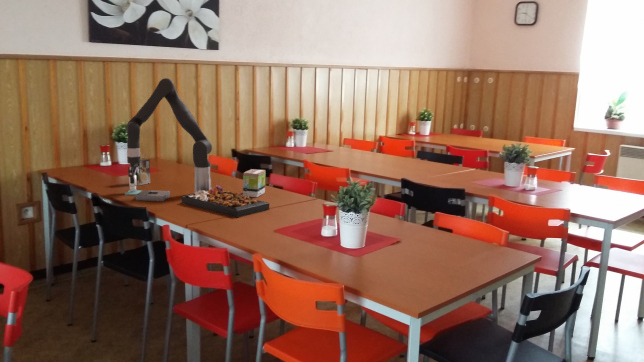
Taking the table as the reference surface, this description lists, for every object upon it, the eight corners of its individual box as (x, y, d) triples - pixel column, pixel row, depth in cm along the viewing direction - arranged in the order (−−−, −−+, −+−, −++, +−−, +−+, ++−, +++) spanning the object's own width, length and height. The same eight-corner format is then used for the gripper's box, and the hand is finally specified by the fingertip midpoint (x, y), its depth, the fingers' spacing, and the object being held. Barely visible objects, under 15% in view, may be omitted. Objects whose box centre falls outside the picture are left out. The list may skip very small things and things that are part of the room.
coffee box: (144, 182, 379) (144, 158, 376) (150, 183, 376) (150, 159, 373) (132, 184, 372) (132, 159, 369) (138, 185, 368) (138, 160, 365)
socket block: (170, 195, 343) (169, 190, 342) (163, 201, 329) (163, 196, 328) (143, 194, 343) (143, 190, 342) (135, 200, 329) (135, 195, 328)
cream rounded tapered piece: (131, 190, 348) (131, 174, 346) (138, 191, 347) (137, 175, 345) (128, 192, 344) (127, 175, 342) (134, 192, 343) (134, 176, 341)
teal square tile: (144, 192, 350) (144, 190, 350) (140, 195, 341) (139, 193, 341) (129, 191, 350) (129, 190, 350) (124, 194, 341) (124, 193, 341)
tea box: (258, 197, 346) (258, 173, 343) (242, 196, 348) (242, 172, 345) (265, 192, 361) (265, 169, 358) (250, 191, 363) (250, 168, 360)
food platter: (181, 204, 326) (181, 186, 324) (214, 197, 345) (214, 180, 343) (237, 218, 299) (237, 199, 297) (269, 210, 318) (269, 192, 316)
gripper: (131, 153, 348) (132, 179, 351) (123, 157, 334) (124, 184, 337) (143, 153, 348) (144, 180, 351) (136, 157, 334) (137, 184, 337)
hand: (134, 182), depth 344 cm, fingers open, 8 cm apart
